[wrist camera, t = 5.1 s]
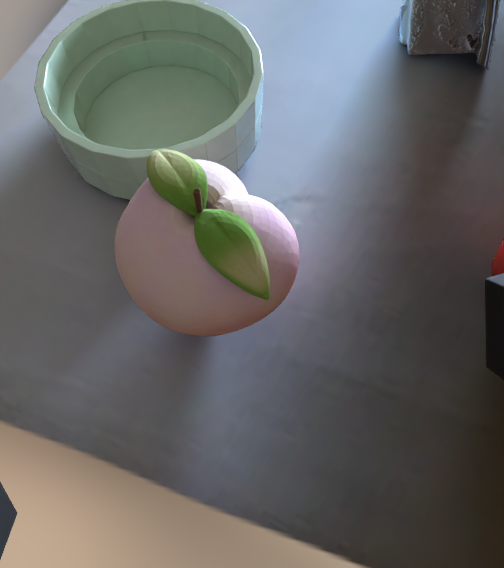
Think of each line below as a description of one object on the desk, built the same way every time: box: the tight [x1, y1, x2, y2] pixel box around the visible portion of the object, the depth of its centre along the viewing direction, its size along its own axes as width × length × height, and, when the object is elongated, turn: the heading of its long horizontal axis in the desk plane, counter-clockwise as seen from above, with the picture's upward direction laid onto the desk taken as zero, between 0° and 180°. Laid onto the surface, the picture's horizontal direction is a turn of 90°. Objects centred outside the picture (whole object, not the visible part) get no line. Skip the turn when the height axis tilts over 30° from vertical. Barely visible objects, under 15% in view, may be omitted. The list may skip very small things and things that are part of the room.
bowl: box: [34, 0, 263, 200], centre depth 30 cm, size 14×14×5 cm
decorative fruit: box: [114, 149, 299, 336], centre depth 22 cm, size 9×8×10 cm
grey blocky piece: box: [399, 0, 500, 70], centre depth 35 cm, size 10×7×12 cm
